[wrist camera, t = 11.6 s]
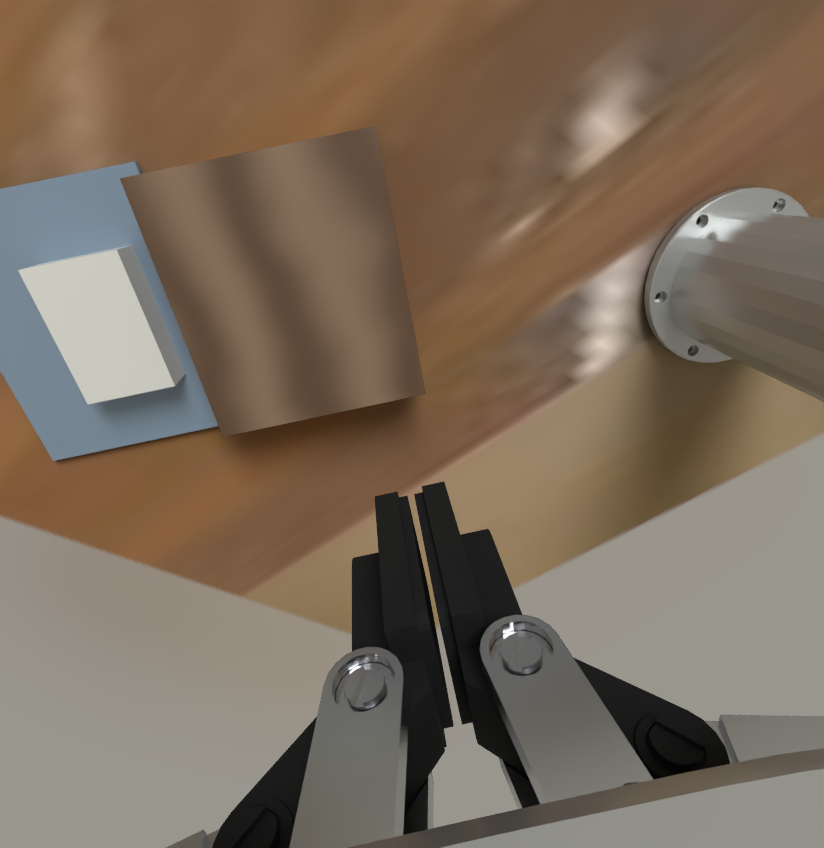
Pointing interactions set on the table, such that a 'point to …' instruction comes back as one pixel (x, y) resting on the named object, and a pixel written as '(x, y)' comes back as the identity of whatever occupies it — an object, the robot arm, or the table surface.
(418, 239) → the table surface
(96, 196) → the mat
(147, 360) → the block
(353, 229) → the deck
